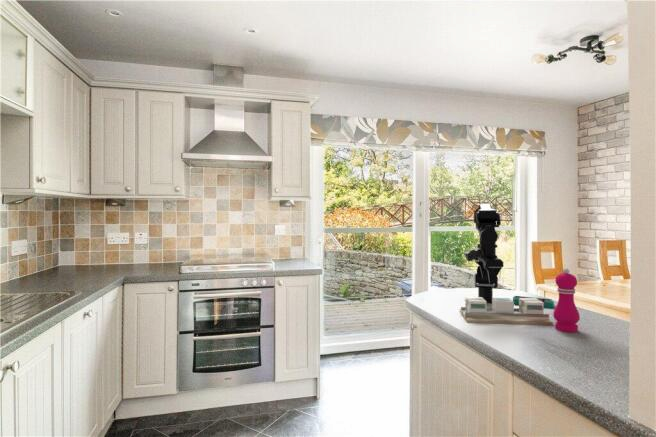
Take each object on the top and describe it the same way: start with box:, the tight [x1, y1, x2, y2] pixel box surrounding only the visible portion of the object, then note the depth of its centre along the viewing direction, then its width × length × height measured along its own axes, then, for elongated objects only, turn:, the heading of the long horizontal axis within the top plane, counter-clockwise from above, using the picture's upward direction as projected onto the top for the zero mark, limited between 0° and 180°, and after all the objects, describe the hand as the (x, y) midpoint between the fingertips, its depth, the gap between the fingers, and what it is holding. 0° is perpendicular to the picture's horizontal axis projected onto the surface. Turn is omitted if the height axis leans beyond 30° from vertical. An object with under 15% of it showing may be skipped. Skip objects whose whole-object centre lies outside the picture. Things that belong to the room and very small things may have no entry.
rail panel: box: [459, 296, 554, 325], centre depth 135 cm, size 14×28×7 cm, turn 81°
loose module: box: [491, 297, 515, 313], centre depth 135 cm, size 5×6×5 cm
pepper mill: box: [553, 268, 581, 333], centre depth 121 cm, size 7×7×20 cm
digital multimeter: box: [512, 295, 555, 309], centre depth 154 cm, size 7×15×3 cm, turn 60°
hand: (487, 281), depth 143 cm, fingers open, 9 cm apart
